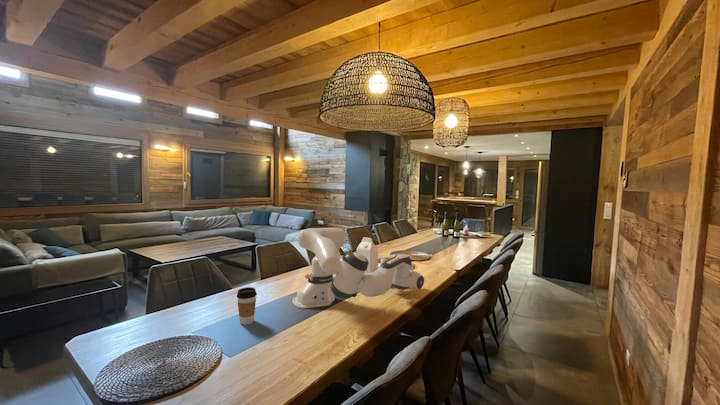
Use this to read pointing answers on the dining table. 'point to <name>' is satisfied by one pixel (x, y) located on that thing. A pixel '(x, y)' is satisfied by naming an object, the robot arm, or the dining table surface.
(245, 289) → the coffee cup
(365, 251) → the milk
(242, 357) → the dining table surface
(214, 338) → the dining table surface
